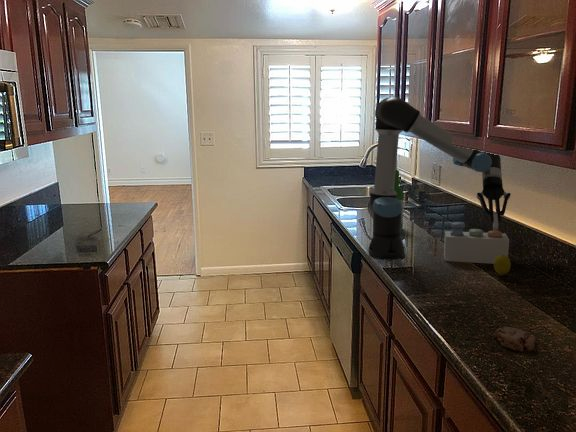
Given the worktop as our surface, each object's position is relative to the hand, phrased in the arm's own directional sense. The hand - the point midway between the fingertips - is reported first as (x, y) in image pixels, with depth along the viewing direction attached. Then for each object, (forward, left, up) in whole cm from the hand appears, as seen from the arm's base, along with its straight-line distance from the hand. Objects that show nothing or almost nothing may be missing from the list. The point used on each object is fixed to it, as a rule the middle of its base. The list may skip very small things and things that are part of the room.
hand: (495, 229), depth 180 cm
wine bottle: (+24, +54, -13) cm, 61 cm away
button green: (-3, +7, -7) cm, 10 cm away
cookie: (-66, -22, -13) cm, 70 cm away
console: (-3, +7, -13) cm, 15 cm away
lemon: (-17, -7, -13) cm, 22 cm away
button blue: (-6, +13, -5) cm, 15 cm away
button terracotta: (0, 0, -8) cm, 8 cm away
